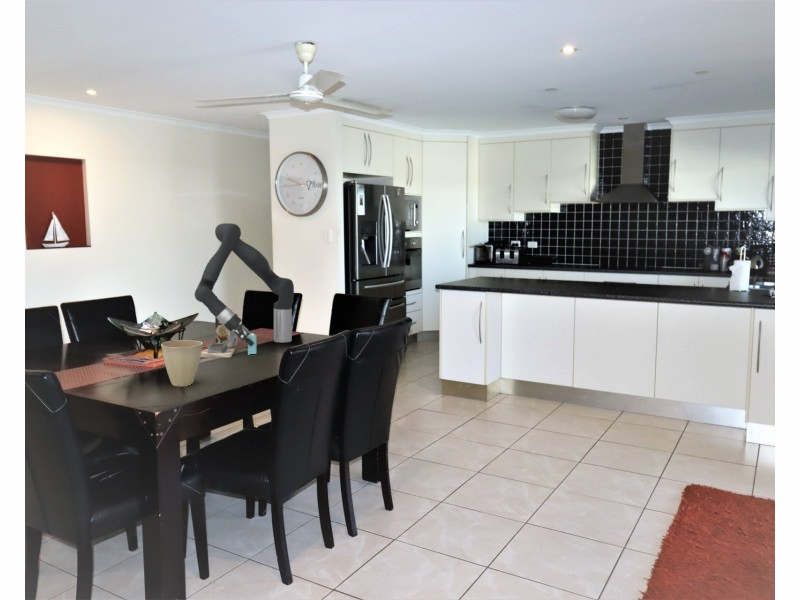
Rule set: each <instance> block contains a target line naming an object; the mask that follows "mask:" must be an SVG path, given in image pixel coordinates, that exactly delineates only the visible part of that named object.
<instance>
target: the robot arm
mask: <svg viewBox="0 0 800 600" xmlns="http://www.w3.org/2000/svg"><path fill="white" fill-rule="evenodd" d="M241 230H242V229H241V227H240V226H239V225H238V224H236V223H219V224H217V225H216V227H215V233H214V234H215V237H216V239H217V240H218V241H219V242H220V243H221V244H220V246H219V248H218V249H217V251H216V252H215V253H214V254H213V255H212V257H211V258H210V259H209V260H208V262H207V263H206V266H205V268H204V270H203V273H202V276H201V278H200V281H199V283H198V285H197V287H196V289H195V291H194V298H195V300H197V301H198V302H199V303H202V304H203V305H204V306H205V307H206V308H207V309H208V311H209V312H210V313H211V314H212V316H214V318H215V317H216V318H217V319H218V320H219V321H220V322H221V323H222V324H223V325H224V326H225V327H226V328H227V329H228V330H229V331H232V330H233V329H234V330H235V332H234V333H235V334H236V335H237V338H239V339H240V340H241V341H243V342H246V344H247V345H248V344H249V345H250V346H252V345H253V344H254V342H253V341H252V340H251V339H250V338H249V337H248V335H250V334H251V331H250V329H248V328H247V327H246V326H245V325H244V324H243V323H241V322H242V319H241V318H240V317H239V315H238V314H237V313H236V312H234V311H233V310H232V309H231V308H229V307H228V306H227V305H226V304H225V303H224V302H223V301H222V300H220V299H219V297H218V296H217V295H216V294H215V293H214V291H213V289H214V287H215V284H216V283H217V282H218V279H219V277H220V275H221V272H222V271H223V270H222V269H223V267H224V266H225V263H226V261H227V260H228V258H229V256H230V255H231V253H234V254H235V255H236V256H237V257H238V258H239V259H240V261H242V262H243V264H244V265H246V266H247V267H248V269H250V270H251V271H252V272H253V274H254V273H255V275H256V276H257V277H258V278H260V279H261V280H262V282H264V284H265V285H266V286H267V287H268V288H269V290H270V291H271V292H272V293H273V294H275V295H277V296H278V300H277V301H276V302H274V303H273V342H274V343H291V342H292V340H293V339H292V336H293V335H292V334H293V330H292V329H293V326H292V325H293V323H292V321H293V320H292V319H293V313H292V312H293V303H294V297H295V296H294V295H295V293H294V292H295V285H294V282H293V281H292V279H290V278H287V277H281V276H279V275H278V274H276V272H275V271H273V270H272V269H271V266H270V264H269V261H268V259H267V258H266V256H264V255H263V253H261V252H260V251H259V250H258V249H257V248H255V247H253V246H252V245H251V244H248V243H246V242H245V241H243V240H242V239H241V235H242V231H241ZM236 314H237V315H236ZM240 323H241V324H240Z"/></svg>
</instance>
